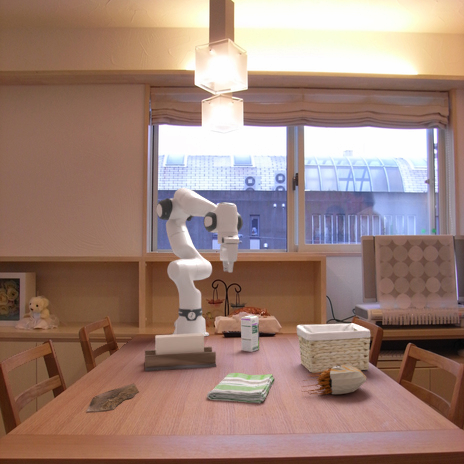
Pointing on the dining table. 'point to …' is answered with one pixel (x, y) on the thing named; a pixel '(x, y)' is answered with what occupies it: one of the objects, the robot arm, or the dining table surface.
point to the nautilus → (338, 380)
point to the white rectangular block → (179, 343)
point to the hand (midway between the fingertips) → (228, 271)
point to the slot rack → (179, 360)
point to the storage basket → (333, 346)
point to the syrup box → (250, 333)
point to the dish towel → (242, 388)
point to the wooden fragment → (111, 398)
